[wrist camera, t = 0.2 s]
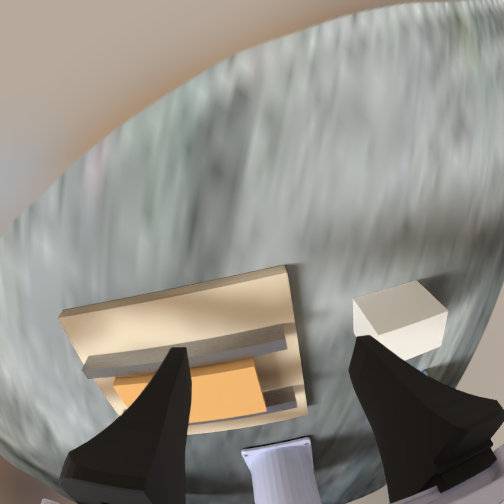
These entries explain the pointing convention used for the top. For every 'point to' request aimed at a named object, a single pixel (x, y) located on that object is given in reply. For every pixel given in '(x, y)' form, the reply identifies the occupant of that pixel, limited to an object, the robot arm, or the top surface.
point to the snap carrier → (210, 390)
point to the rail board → (198, 339)
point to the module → (401, 319)
